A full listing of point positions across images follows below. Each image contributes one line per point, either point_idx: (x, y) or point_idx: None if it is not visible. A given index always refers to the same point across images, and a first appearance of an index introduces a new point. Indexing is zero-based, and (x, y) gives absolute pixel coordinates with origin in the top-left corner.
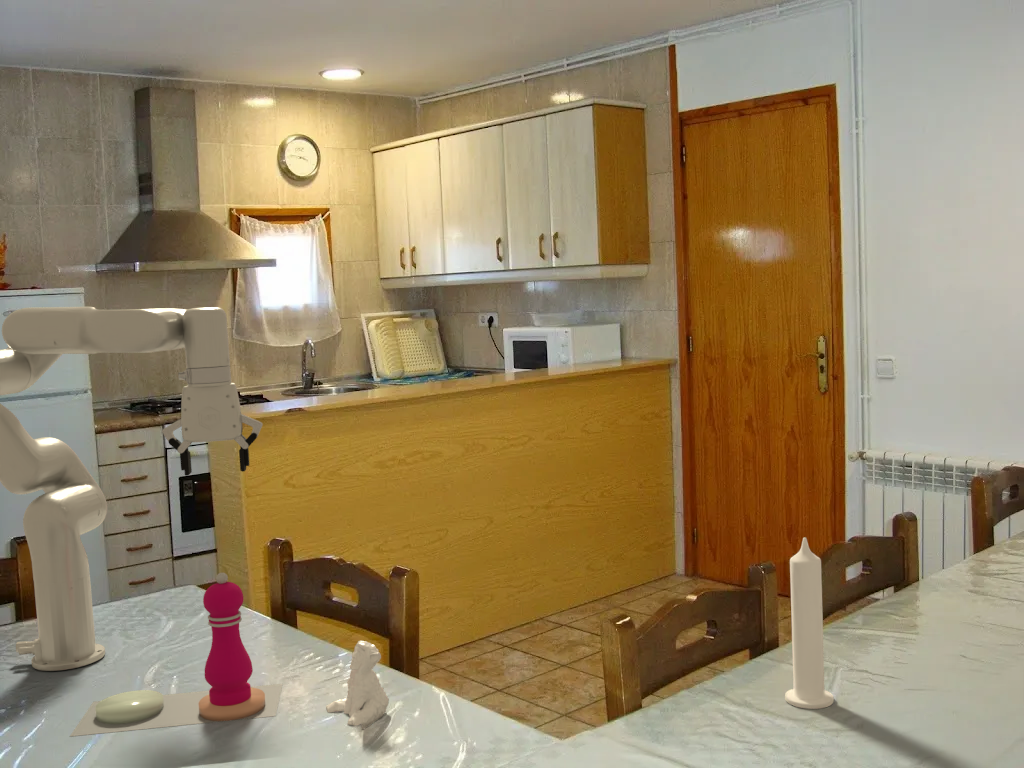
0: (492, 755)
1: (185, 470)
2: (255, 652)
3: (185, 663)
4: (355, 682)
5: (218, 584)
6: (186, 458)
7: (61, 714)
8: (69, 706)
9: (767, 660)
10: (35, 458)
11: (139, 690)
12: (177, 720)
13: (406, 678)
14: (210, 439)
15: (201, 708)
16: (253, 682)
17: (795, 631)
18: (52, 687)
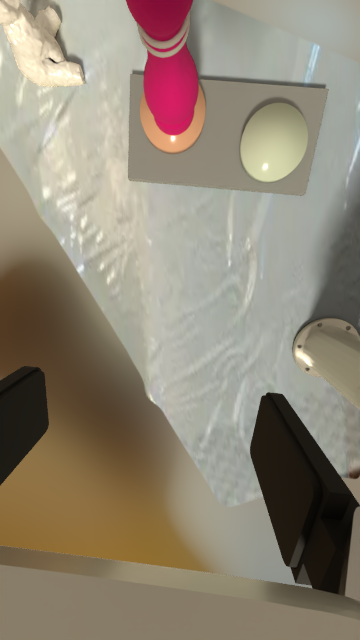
0: None
1: (285, 405)
2: (159, 304)
3: (221, 297)
4: (26, 11)
5: None
6: (307, 454)
7: (331, 191)
8: (323, 212)
9: None
10: None
11: (264, 178)
12: (225, 98)
13: (17, 172)
14: (69, 582)
15: (202, 91)
16: (158, 217)
17: None
18: (338, 275)
